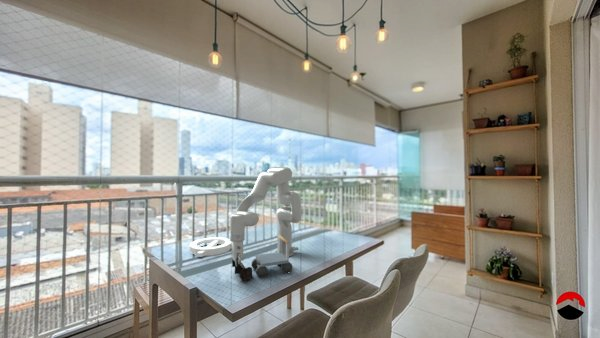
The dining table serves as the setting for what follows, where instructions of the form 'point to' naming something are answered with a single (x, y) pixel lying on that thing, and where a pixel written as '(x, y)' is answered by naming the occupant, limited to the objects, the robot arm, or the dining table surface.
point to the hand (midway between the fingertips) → (236, 269)
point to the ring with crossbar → (211, 246)
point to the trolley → (272, 261)
